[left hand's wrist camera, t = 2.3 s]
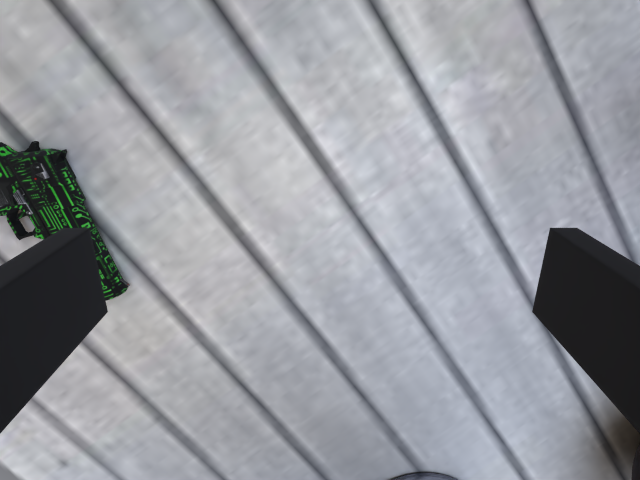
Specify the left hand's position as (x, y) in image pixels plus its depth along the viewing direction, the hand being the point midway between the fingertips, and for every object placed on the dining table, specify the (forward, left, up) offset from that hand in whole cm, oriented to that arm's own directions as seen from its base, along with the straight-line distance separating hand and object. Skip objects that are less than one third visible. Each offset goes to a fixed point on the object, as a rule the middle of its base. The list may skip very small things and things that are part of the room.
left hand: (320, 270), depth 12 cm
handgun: (-8, +28, -28) cm, 40 cm away
